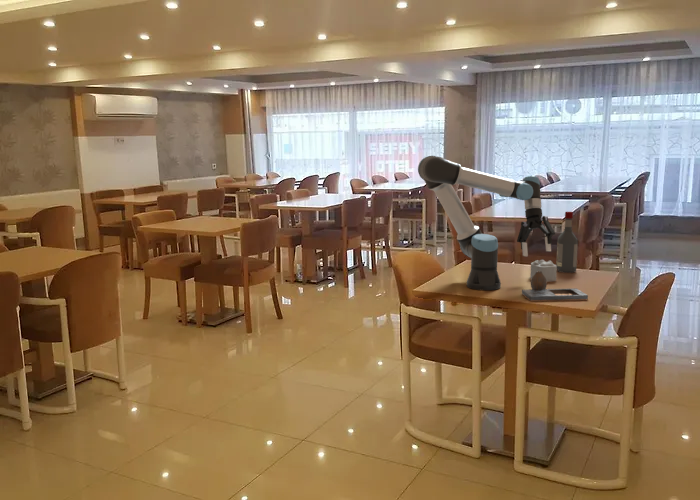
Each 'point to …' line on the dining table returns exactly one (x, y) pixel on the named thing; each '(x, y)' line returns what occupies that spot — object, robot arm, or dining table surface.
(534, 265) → the lumpy-topped squat cylinder
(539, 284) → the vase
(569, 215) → the liquor
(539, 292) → the grey slab with opening
